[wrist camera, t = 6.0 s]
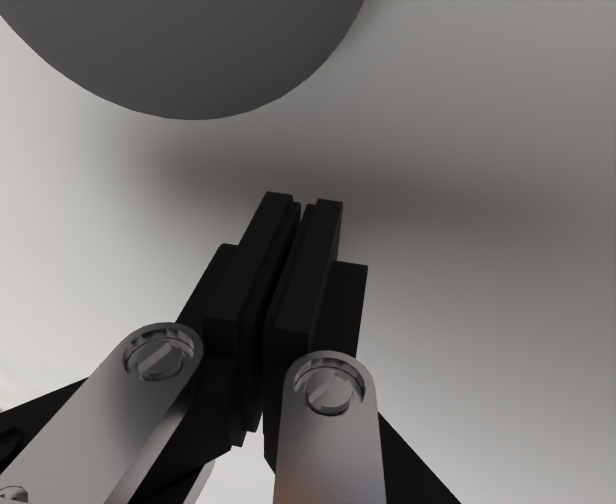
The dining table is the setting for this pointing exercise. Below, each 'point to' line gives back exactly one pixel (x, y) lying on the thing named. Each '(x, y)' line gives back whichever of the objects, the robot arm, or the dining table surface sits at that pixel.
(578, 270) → the dining table surface
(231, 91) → the gray ball
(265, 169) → the dining table surface
